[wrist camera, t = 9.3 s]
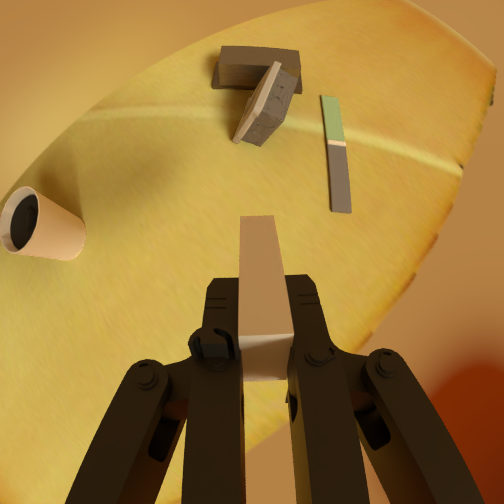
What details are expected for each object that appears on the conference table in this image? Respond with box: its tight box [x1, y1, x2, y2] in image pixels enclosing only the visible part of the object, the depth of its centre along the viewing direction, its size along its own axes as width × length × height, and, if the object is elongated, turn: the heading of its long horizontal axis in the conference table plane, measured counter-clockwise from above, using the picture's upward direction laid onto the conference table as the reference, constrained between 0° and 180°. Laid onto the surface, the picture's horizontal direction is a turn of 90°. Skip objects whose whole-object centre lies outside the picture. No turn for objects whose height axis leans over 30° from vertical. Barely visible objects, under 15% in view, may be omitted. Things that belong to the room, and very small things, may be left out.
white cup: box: [0, 186, 86, 261], centre depth 23 cm, size 7×7×10 cm
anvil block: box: [213, 46, 302, 94], centre depth 30 cm, size 12×5×5 cm, turn 88°
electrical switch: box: [232, 61, 298, 147], centre depth 28 cm, size 8×5×8 cm, turn 162°
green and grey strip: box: [321, 95, 352, 213], centre depth 31 cm, size 2×17×1 cm, turn 178°
